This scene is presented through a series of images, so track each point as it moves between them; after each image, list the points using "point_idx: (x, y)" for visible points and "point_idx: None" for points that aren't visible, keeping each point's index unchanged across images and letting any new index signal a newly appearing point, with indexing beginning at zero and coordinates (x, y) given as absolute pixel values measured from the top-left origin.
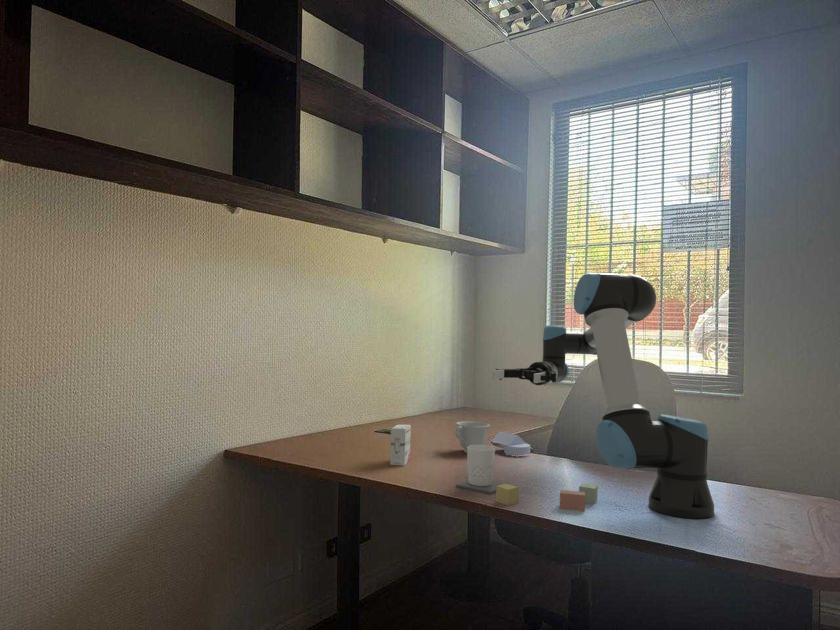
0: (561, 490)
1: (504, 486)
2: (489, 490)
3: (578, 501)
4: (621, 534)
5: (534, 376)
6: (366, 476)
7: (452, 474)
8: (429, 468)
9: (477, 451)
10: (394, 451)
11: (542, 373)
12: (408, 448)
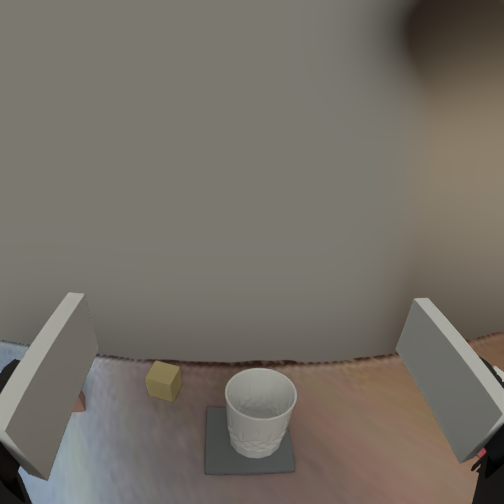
0: None
1: (167, 370)
2: (213, 411)
3: None
4: (22, 346)
5: (84, 310)
6: None
7: (352, 463)
8: (415, 457)
9: (250, 370)
10: None
11: (14, 375)
12: None
